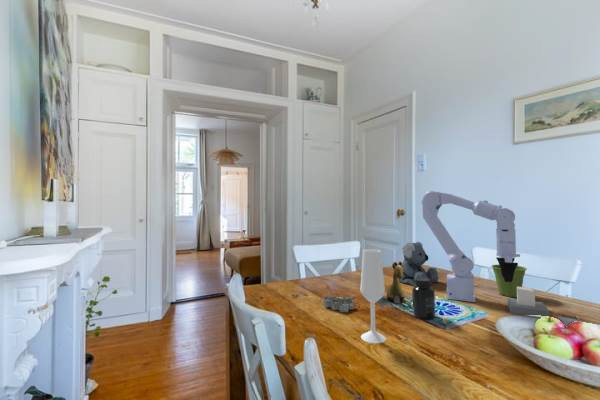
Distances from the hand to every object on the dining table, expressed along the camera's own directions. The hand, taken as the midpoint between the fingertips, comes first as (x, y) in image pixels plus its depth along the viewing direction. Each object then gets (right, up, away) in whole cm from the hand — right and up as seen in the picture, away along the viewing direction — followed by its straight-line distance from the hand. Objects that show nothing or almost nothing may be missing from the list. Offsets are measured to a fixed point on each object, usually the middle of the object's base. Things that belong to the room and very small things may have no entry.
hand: (507, 279), depth 106 cm
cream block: (+2, -7, -6) cm, 9 cm away
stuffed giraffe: (-37, -11, +7) cm, 39 cm away
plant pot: (+10, -10, +13) cm, 19 cm away
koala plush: (-20, -11, +35) cm, 41 cm away
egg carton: (-61, -11, 0) cm, 62 cm away
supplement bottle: (-34, -10, -9) cm, 37 cm away
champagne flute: (-55, -10, -25) cm, 61 cm away
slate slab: (+2, -10, -6) cm, 12 cm away
